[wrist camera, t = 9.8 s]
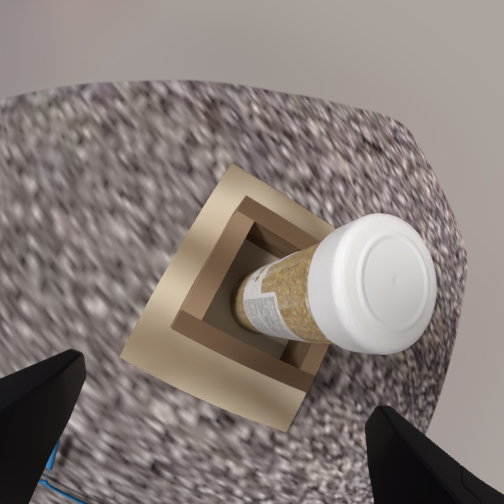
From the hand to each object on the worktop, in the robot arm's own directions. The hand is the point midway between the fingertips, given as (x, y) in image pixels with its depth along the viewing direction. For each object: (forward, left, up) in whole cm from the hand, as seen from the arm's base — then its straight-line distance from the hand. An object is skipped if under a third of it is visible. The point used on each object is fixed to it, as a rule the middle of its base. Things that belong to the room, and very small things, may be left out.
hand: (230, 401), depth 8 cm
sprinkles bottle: (+5, -3, -12) cm, 14 cm away
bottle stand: (+5, -3, -13) cm, 14 cm away
